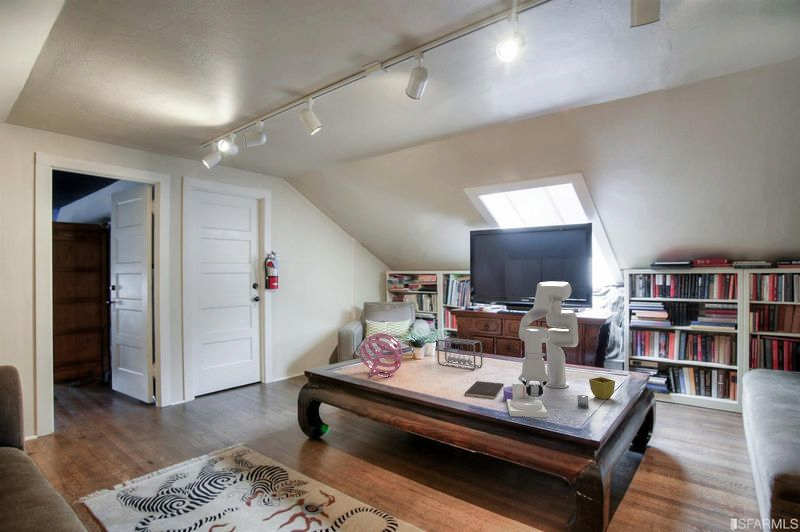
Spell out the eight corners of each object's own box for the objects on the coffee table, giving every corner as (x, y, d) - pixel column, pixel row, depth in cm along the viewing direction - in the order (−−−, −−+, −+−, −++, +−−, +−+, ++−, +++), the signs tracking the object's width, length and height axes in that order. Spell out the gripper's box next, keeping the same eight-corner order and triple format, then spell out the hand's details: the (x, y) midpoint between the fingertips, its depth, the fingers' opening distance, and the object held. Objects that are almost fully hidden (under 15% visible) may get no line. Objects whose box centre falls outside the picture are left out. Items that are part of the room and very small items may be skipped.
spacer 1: (528, 394, 190) (528, 383, 190) (539, 394, 189) (538, 383, 189) (530, 397, 186) (529, 386, 186) (540, 397, 185) (540, 386, 185)
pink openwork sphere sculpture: (381, 351, 235) (394, 320, 256) (344, 359, 248) (359, 329, 270) (403, 384, 246) (414, 351, 267) (367, 389, 259) (380, 358, 281)
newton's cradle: (482, 367, 273) (482, 341, 273) (475, 370, 265) (474, 343, 265) (445, 361, 292) (445, 337, 292) (437, 364, 284) (436, 339, 284)
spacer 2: (576, 405, 194) (576, 394, 194) (586, 405, 193) (586, 394, 193) (579, 408, 190) (578, 397, 190) (589, 408, 189) (589, 397, 189)
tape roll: (507, 403, 199) (507, 393, 200) (500, 396, 211) (500, 386, 211) (531, 402, 200) (531, 392, 200) (522, 395, 212) (522, 385, 212)
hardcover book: (504, 387, 227) (504, 383, 227) (495, 400, 206) (495, 395, 206) (476, 384, 234) (476, 380, 234) (464, 396, 213) (464, 392, 213)
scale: (506, 402, 200) (506, 382, 200) (540, 403, 197) (539, 383, 197) (510, 416, 182) (509, 393, 182) (547, 417, 179) (546, 394, 179)
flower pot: (603, 401, 198) (603, 383, 198) (588, 396, 206) (588, 378, 206) (616, 398, 202) (615, 380, 202) (601, 394, 210) (600, 376, 210)
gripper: (551, 354, 190) (552, 393, 190) (513, 353, 193) (514, 392, 193) (554, 357, 183) (555, 398, 182) (515, 357, 186) (516, 397, 185)
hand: (534, 394), depth 188 cm, fingers closed on spacer 1, 4 cm apart
